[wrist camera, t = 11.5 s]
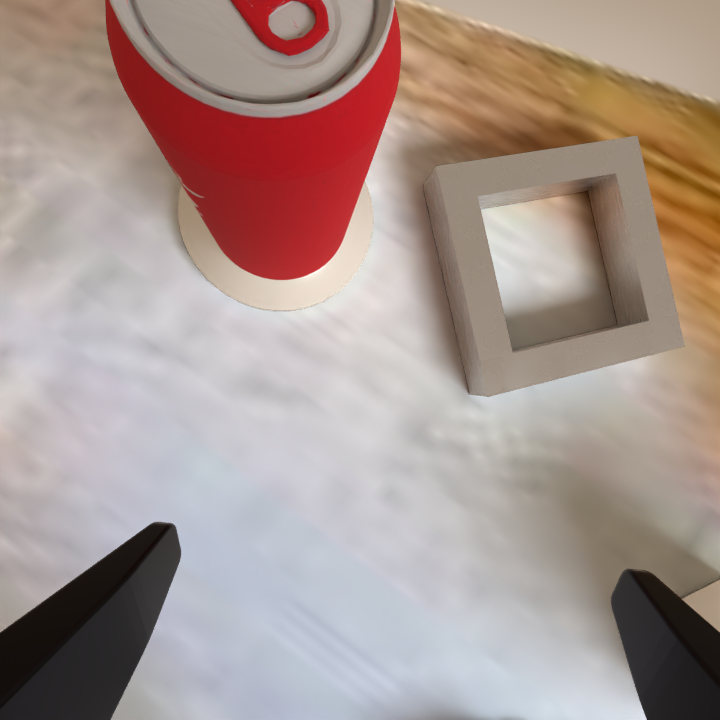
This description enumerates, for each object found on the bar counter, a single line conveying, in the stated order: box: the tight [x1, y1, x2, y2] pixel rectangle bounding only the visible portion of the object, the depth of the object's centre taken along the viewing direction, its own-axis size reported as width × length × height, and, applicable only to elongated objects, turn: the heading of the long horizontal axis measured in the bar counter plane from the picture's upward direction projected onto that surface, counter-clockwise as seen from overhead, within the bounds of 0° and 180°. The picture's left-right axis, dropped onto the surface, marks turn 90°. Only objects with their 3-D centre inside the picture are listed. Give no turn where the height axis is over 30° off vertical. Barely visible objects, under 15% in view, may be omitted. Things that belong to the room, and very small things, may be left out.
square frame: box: [423, 136, 685, 397], centre depth 21 cm, size 11×11×2 cm
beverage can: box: [105, 0, 401, 280], centre depth 13 cm, size 6×6×12 cm
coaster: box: [178, 181, 373, 311], centre depth 19 cm, size 9×9×1 cm
